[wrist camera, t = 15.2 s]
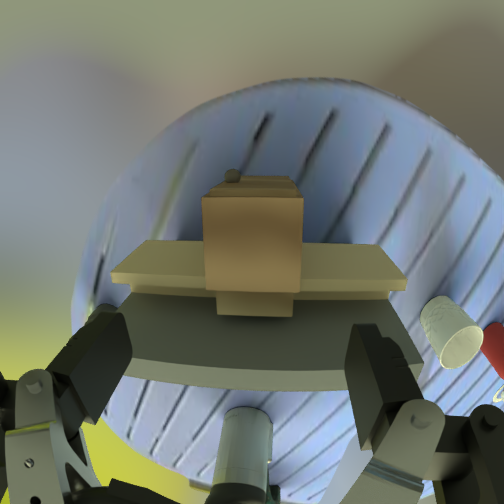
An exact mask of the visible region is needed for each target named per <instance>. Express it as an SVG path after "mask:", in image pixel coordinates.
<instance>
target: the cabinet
mask: <svg viewBox="0 0 504 504" xmlns="http://www.w3.org/2000/svg"><path fill="white" fill-rule="evenodd" d="M201 201H202V225H203V244H204V262H205V277H206V290H216V303H217V314H219V315H242V316H275V317H292V314H293V298H294V293H299V291H300V275H301V256H302V235H303V209H304V198H303V196H302V195H301V193H300V191H299V190H298V188H297V187H296V185H295V183H294V182H293V180H290V178H289V176H241V175H240V173H239V171H237V170H235V169H230V170H228V171H227V172H226V173H225V181H224V182H222V183H220V184H219V185H217V186H215V187H213V188H212V189H210V192H209V193H208V194H206V195H205V196H203V197H202V198H201Z"/></svg>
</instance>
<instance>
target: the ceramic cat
mask: <svg viewBox="0 0 504 504" xmlns="http://www.w3.org/2000/svg"><path fill="white" fill-rule="evenodd" d="M265 504H280V488H279V486H269V473H268V468H267V485H266V501H265Z"/></svg>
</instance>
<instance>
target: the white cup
mask: <svg viewBox="0 0 504 504" xmlns="http://www.w3.org/2000/svg"><path fill="white" fill-rule="evenodd" d="M420 323H421V325H422V327H423V329H424V331H425V334H426V336H427V338H428V340H429V342H430V344H431V346H432V348H433V349H434V351H435V353H436V355H437V357H438V359H439V361H440V363H441V365H442V366H443V367H444V368H446V369H455V368H458V367H460V366H462V365H464V364H466V363H467V362H468V361H470V360H471V359H472V358H473V357H474V356H475V355H476V353H477V352H478V350H479V349H480V347H481V345H482V342H483V337H484V334H483V330H482V329H481V328H480V327H479V326H478V324H477V323H476V322H475V321H474V320H473V319H472V318H471V317H470V316H469V315H468V314H467V313H466V312H465V311H464V310H463V309H462V308H460V307H459V306H458V305H457V304H456V303H455V302H454V301H453V300H451V299H450V298H449V297H447V296H437V297H435V298H433V299H431V300H430V301H429V302H428V303H427V304H426V305H425V306H424V308H423V310H422V312H421V315H420Z"/></svg>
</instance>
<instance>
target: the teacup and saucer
mask: <svg viewBox="0 0 504 504" xmlns="http://www.w3.org/2000/svg"><path fill="white" fill-rule="evenodd" d="M503 387H504V385H503V386H502V387H501V388H500V389H499V390H498V391H497V392H496V394H495V395H494V398H493V402H499V401H501V400H503V401H504V390H503V391H502V393H501V397H502V398H500V399H497V394H498V393H499V391H500V390H501V389H502V388H503Z"/></svg>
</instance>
